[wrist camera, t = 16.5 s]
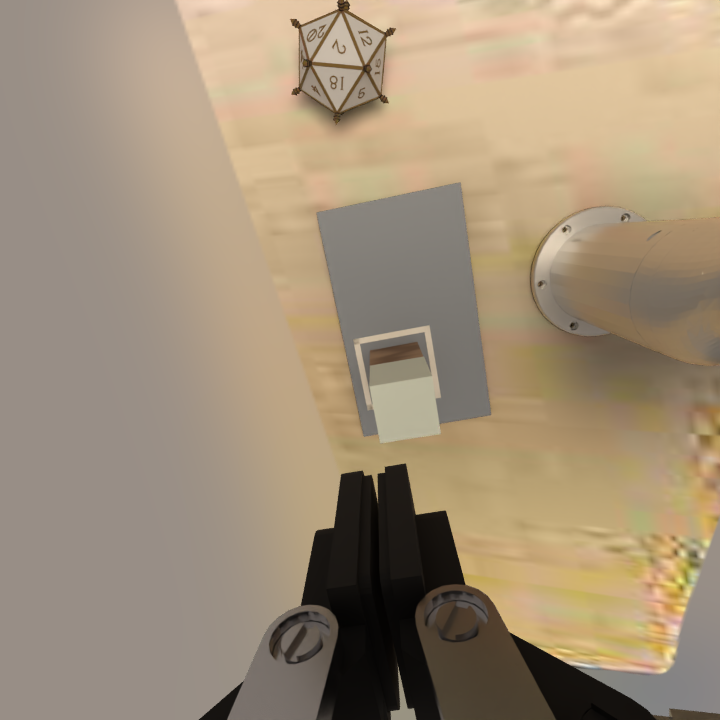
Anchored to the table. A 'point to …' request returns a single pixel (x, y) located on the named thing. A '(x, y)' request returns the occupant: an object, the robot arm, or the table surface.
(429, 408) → the sage block
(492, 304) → the table surface
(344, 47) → the game die
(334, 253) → the board
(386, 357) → the walnut block
